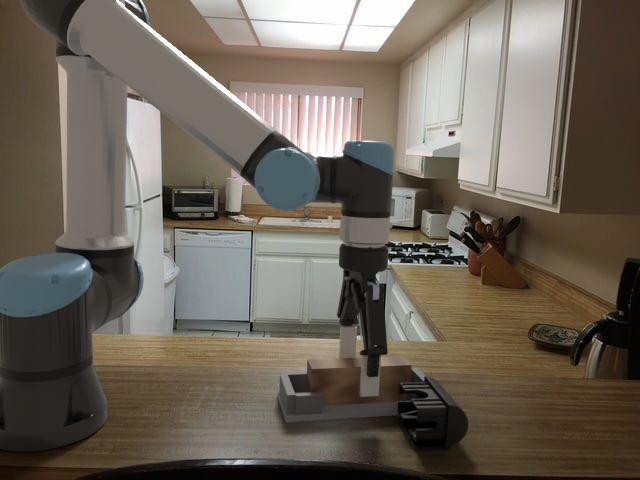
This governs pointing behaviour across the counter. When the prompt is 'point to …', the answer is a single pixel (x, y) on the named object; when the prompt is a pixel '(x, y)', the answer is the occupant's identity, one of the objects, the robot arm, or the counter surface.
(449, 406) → the end cap
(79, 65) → the robot arm
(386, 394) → the wooden block
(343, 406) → the holder
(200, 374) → the counter surface
